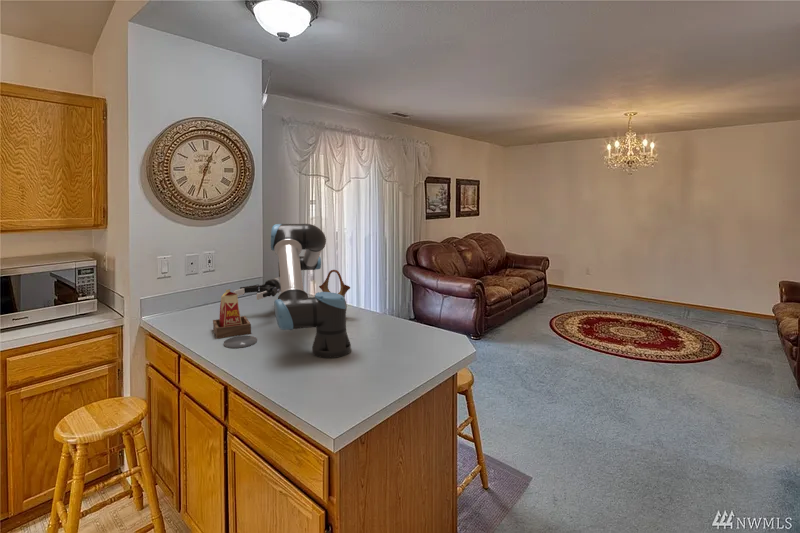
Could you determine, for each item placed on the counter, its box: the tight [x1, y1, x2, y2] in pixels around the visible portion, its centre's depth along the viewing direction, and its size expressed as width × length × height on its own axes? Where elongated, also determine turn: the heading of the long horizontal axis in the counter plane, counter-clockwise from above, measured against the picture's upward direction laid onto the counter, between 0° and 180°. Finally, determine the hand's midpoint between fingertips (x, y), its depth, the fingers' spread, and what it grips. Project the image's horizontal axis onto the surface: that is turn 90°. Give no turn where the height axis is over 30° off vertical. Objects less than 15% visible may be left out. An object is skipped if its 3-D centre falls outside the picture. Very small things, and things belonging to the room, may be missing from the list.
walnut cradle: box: [212, 315, 252, 339], centre depth 188 cm, size 14×14×4 cm
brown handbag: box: [318, 269, 351, 311], centre depth 207 cm, size 16×9×25 cm, turn 77°
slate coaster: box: [223, 335, 258, 349], centre depth 175 cm, size 13×13×1 cm
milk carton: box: [219, 288, 242, 327], centre depth 188 cm, size 9×9×20 cm
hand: (245, 295), depth 196 cm, fingers open, 13 cm apart
